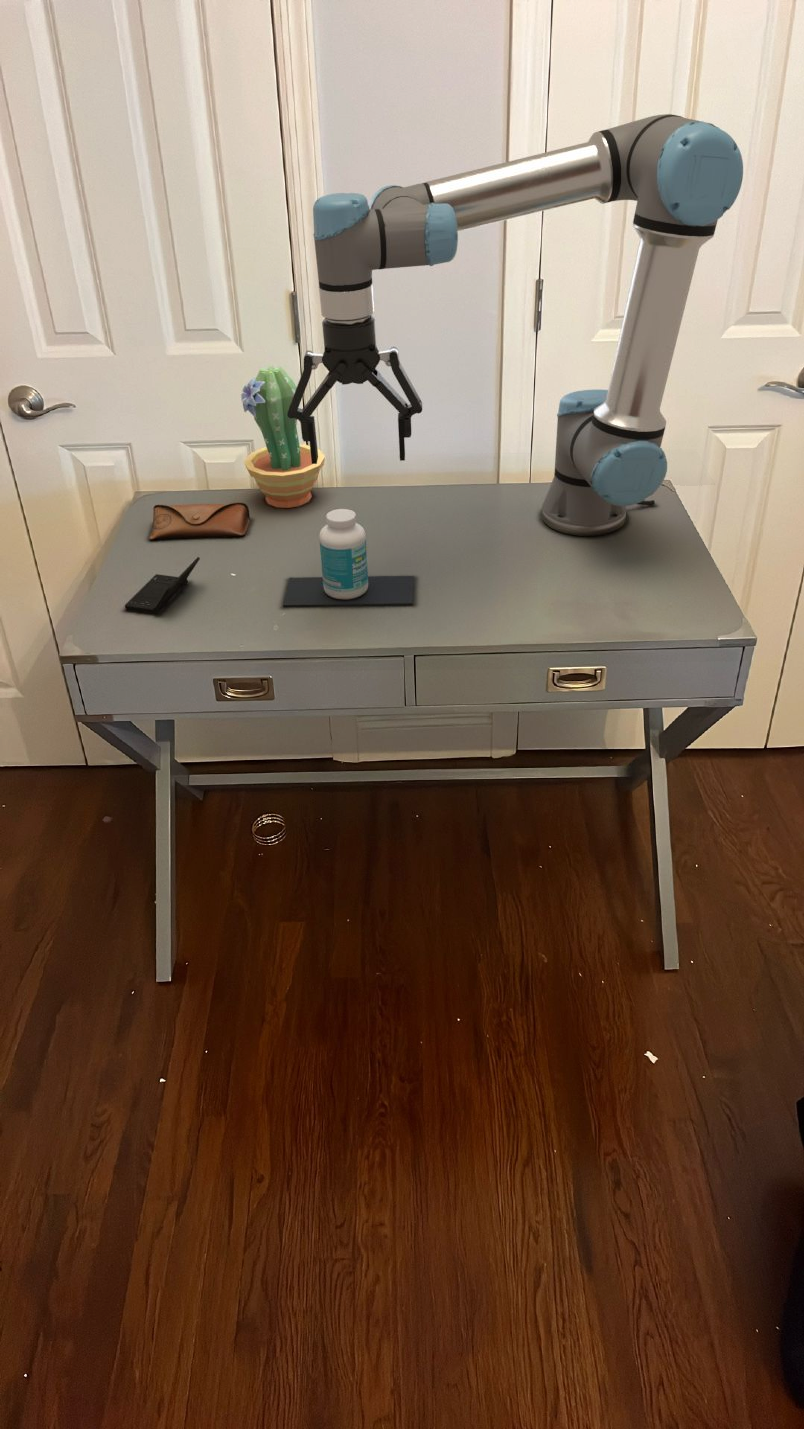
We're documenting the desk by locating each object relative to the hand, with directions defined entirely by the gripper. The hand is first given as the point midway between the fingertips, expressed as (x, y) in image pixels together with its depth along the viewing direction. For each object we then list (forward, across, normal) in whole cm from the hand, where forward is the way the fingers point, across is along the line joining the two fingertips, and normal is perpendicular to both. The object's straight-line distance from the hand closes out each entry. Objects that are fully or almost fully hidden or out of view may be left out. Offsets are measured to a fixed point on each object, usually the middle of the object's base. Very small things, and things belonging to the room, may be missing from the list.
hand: (358, 459), depth 154 cm
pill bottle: (+21, +3, +4) cm, 22 cm away
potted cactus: (+22, +17, -34) cm, 43 cm away
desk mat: (+22, +3, +4) cm, 22 cm away
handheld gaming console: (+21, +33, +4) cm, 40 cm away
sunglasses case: (+21, +32, -20) cm, 44 cm away
